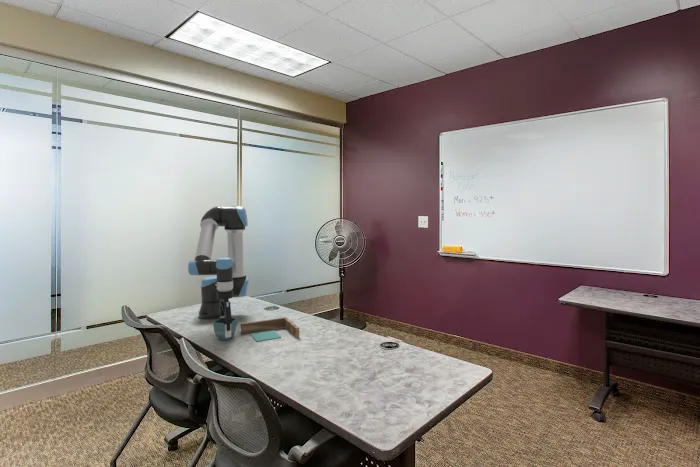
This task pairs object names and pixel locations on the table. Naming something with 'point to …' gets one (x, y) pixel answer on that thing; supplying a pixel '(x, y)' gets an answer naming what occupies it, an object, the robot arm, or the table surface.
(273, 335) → the pad
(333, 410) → the table surface
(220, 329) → the flower pot
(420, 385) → the table surface
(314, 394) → the table surface
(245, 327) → the corner arena
